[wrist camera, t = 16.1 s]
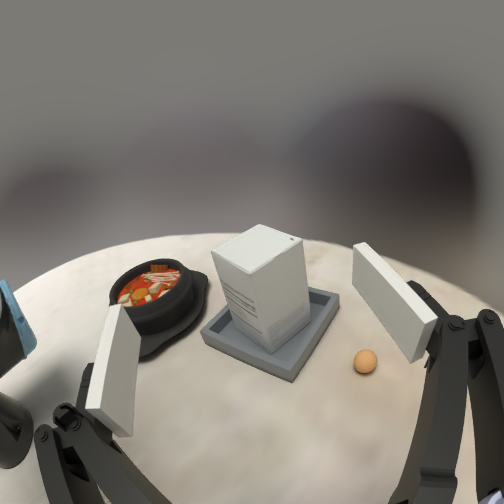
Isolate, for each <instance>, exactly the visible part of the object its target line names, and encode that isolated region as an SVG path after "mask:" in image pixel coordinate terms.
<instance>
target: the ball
mask: <svg viewBox="0 0 504 504" xmlns="http://www.w3.org/2000/svg"><path fill="white" fill-rule="evenodd" d="M376 364H377V357H376V355H375V353H374V352H373V351H371V350H367V349H366V350H362V351H360V352H358V353H357V354H356V356H355V358H354V367H355V368H356V370H357V371H359V372H361V373H368V372H370V371H372V370H373V369H374V368H375V366H376Z"/></svg>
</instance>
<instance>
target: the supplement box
mask: <svg viewBox="0 0 504 504" xmlns="http://www.w3.org/2000/svg"><path fill="white" fill-rule="evenodd" d="M211 254H212V257H213V260H214V263H215V267H216V270H217V273H218V276H219V279H220V282H221V285H222V288H223V291H224V294H225V297H226V300H227V304H228V307H229V309H230V313H231V316H232V318H233V321H234V325H235V327H236V328H237V329H238V330H239V331H240V332H242V333H243V334H244V335H245V336H247V337H248V338H249V339H251V340H252V341H253V342H255V343H256V344H257V345H259V346H260V347H261V348H262V349H264V350H265V351H266V352H268V353H269V354H272V353H274V352H275V351H276V350H277V349H278V348H280V347H281V346H282V345H283V344H285V343H286V342H287V341H288V340H289V339H291V338H292V337H293V336H294V335H295V334H297V333H298V332H299V331H300V330H301V329H303V328H304V327H305V326H306V325H307V324H308V323H309V322H311V313H310V303H309V293H308V283H307V275H306V266H305V257H304V249H303V241H302V239H301V238H298V237H295V236H292V235H289V234H285V233H283V232H280V231H277V230H275V229H272V228H269V227H267V226H264V225H260V224H258V225H256V226H255V227H253V228H251V229H249V230H248V231H246V232H244V233H242V234H240V235H238V236H236V237H235V238H233V239H231V240H229V241H227V242H225V243H224V244H222V245H220V246H218V247H216V248H214V249H212V250H211Z"/></svg>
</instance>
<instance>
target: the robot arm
mask: <svg viewBox="0 0 504 504" xmlns="http://www.w3.org/2000/svg"><path fill="white" fill-rule="evenodd" d="M352 285H353V286H354V287H355V289H356V290H357V291H358V292H359V294H360V295H361V296H362V298H363V299H364V300H365V302H366V303H367V304H368V306H369V307H370V308H371V310H372V311H373V312H374V314H375V315H376V316H377V318H378V319H379V320H380V322H381V323H382V325H383V326H384V327H385V329H386V330H387V331H388V333H389V334H390V336H391V337H392V338H393V340H394V341H395V343H396V344H397V345H398V347H399V348H400V350H401V351H402V353H403V354H404V355H405V357H406V358H407V360H408V361H409V363H410V364H411V363H413V362H415V361H417V360H419V359H421V358H423V355H424V353H425V350H427V352H428V353H429V354H430V355H429V357H428V359H427V362H426V364H425V366H424V368H426V367H427V371H426V377H425V384H424V390H423V395H422V401H421V406H420V410H419V415H418V420H417V424H416V428H415V432H414V436H413V440H412V443H411V447H410V450H409V454H408V457H407V460H406V464H405V467H404V470H403V473H402V476H401V478H400V481H399V484H398V486H397V488H396V490H395V491H394V493H393V494H392V496H391V498H390V500H389V503H388V504H452V502H453V499H454V496H455V492H456V489H457V483H458V482H457V478H456V476H455V468H456V464H457V459H458V455H459V450H460V444H461V438H462V432H463V425H464V418H465V409H466V398H467V384H468V389H469V395H470V402H471V409H472V417H473V426H474V437H475V453H476V492H477V500H478V504H504V328H503V325H502V323H501V321H500V318H499V316H498V315H497V314H496V313H495V312H494V311H492V310H490V309H483V310H481V311H480V312H479V314H478V316H477V318H474V319H468V320H464V319H463V318H461V317H460V316H457V315H449V314H448V313H447V312H446V311H445V310H444V309H443V308H442V306H441V305H440V304H439V303H438V302H437V301H436V300H435V299H434V298H433V297H431V295H430V294H429V293H428V292H427V291H426V290H425V289H424V288H423V287H422V286H421V285H420V284H418V283H416V282H414V281H412V280H411V281H409V282H405V281H404V280H403V279H402V278H401V277H400V276H399V275H398V274H397V273H396V272H395V271H394V270H393V269H392V268H391V267H390V266H389V265H388V264H387V263H386V262H385V261H384V260H383V259H382V258H381V257H380V256H379V255H378V254H377V253H376V252H375V251H374V250H372V249H371V248H370V247H369V246H368V245H367V244H366V243H365V242H364V243H360V244H357V245H353V274H352ZM140 342H141V337H140V335H139V333H138V332H137V330H136V328H135V326H134V325H133V323H132V321H131V320H130V318H129V316H128V314H127V313H126V311H125V309H124V307H123V305H122V304H117V305H113V306H110V307H109V311H108V314H107V317H106V321H105V324H104V328H103V331H102V335H101V339H100V343H99V346H98V350H97V354H96V359H95V363H88V365H87V367H86V368H85V370H84V371H83V375H82V382H81V384H80V389H79V393H78V398H77V403H76V408H75V407H74V406H72V405H71V404H70V403H62V404H60V405H59V406H58V407H57V408H56V409H55V411H54V413H53V423H54V424H56V425H57V426H58V427H57V428H54V429H53V428H51V427H50V426H49V425H47V424H43V425H40V426H39V427H38V428H37V429H36V431H35V434H34V442H35V448H36V453H37V458H38V462H39V467H40V471H41V475H42V479H43V483H44V486H45V490H46V493H47V496H48V500H49V503H50V504H105V502H104V500H103V498H102V496H101V494H100V491H99V489H98V487H97V485H98V486H99V487H100V489H101V490H102V491H103V493H104V494H105V496H106V497H107V498H108V499H109V501H110V502H111V503H112V504H172V503H171V502H170V501H169V500H168V499H167V498H166V497H165V496H164V495H162V494H161V493H160V492H159V491H158V490H157V489H156V488H155V486H154V485H153V484H152V483H151V482H150V481H149V480H148V479H147V478H146V477H145V476H144V475H143V474H142V473H141V472H140V470H139V469H138V468H137V467H136V466H135V465H134V464H133V462H132V461H131V460H130V459H129V458H128V457H127V455H126V454H125V453H124V452H123V450H122V449H121V448H120V447H119V445H118V444H117V443H116V442H115V441H114V440H113V439H112V432H113V433H114V434H116V435H117V436H118V437H133V417H134V401H135V389H136V378H137V368H138V359H139V350H140ZM36 345H37V339H36V337H35V335H34V333H33V331H32V329H31V327H30V326H29V324H28V322H27V320H26V318H25V316H24V314H23V313H22V311H21V309H20V307H19V305H18V303H17V301H16V299H15V297H14V295H13V293H12V290H11V288H10V286H9V284H8V282H7V281H6V280H1V281H0V378H2V377H3V376H4V375H5V374H6V373H7V372H8V371H10V370H11V369H12V368H13V367H14V366H16V365H17V364H18V363H19V362H20V361H22V360H23V359H26V358H27V355H29V354H30V353H31V352H32V351H33V350H34V349H35V347H36ZM32 434H33V424H32V419H31V416H30V414H29V412H28V410H27V409H26V408H25V407H24V406H22V405H21V404H20V403H19V402H18V401H16V400H15V399H13V398H11V397H9V396H7V395H5V394H3V393H1V392H0V467H1V468H12V467H14V466H16V465H17V464H18V463H20V462H21V461H22V459H23V458H24V457H25V455H26V453H27V451H28V449H29V447H30V444H31V440H32ZM96 483H97V484H96Z"/></svg>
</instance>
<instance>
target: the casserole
mask: <svg viewBox="0 0 504 504" xmlns="http://www.w3.org/2000/svg"><path fill="white" fill-rule="evenodd" d="M207 282H208V278H207V276H206V275H205V274H203V273H201V272H198V271H193V270H189V269H188V268H186V267H184V266H183V265H182V264H181V263H180V262H179V261H177V260H174V259H156V260H151V261H148V262H145V263H142V264H140V265H138V266H136V267H134V268H132V269H130V270H129V271H127V272H126V273H125V274H123V275H122V276H121V277H120V278H119V279H118V280H117V281H116V282H115V284H114V285H113V286H112V288H111V291H110V295H109V298H110V304H109V307H110V306H113V305H117V304H122V305H123V307H124V309H125V311H126V313H127V314H128V316H129V318H130V320H131V321H132V323H133V325H134V326H135V328H136V330H137V332H138V333H139V335H140V337H141V342H140V350H139V357H144V356H146V355H149V354H151V353H152V352H153V351H155V350H156V349H157V348H158V347H160V346H161V345H162V344H163V343H164V342H166V341H167V340H169V339H171V338H172V337H174V336H176V335H177V334H179V333H180V332H182V331H184V330H185V329H186V328H187V327H188V326H190V325H191V324H192V323H193V322H194V320H195V319H196V318H197V317H198V316H199V314H200V312H201V310H202V308H203V305H204V299H205V289H206V285H207Z"/></svg>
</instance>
